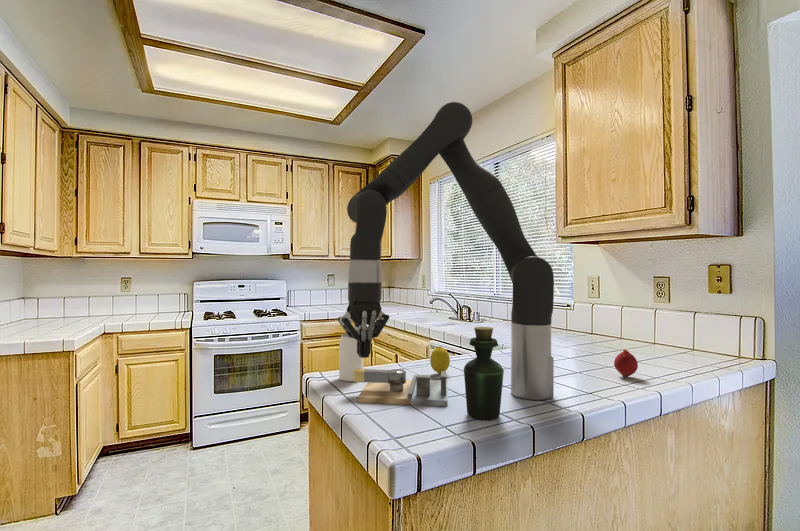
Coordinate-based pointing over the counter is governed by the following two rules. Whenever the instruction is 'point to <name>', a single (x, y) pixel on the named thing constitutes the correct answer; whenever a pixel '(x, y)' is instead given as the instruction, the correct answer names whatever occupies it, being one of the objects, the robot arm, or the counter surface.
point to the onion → (625, 363)
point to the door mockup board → (408, 392)
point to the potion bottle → (483, 378)
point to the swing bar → (380, 376)
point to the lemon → (439, 360)
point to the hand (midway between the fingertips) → (363, 357)
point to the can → (348, 358)
